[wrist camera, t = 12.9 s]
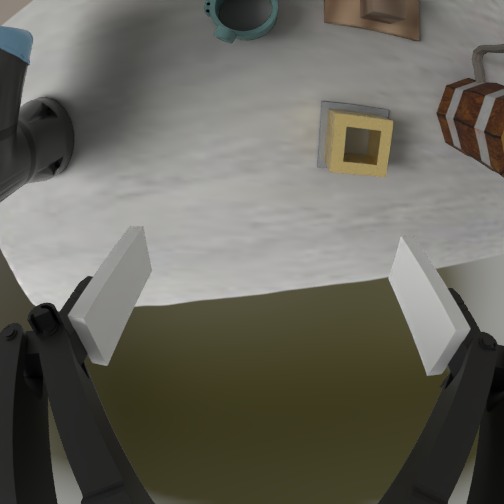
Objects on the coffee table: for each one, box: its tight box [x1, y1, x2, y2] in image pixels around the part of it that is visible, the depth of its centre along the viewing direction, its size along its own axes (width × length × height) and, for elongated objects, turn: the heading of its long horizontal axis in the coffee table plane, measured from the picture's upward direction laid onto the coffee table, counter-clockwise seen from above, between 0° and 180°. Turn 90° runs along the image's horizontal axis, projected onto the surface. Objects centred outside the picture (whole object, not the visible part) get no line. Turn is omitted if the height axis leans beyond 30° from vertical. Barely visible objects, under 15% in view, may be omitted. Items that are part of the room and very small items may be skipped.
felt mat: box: [317, 101, 389, 168], centre depth 41 cm, size 10×10×1 cm
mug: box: [437, 44, 504, 177], centre depth 29 cm, size 20×14×15 cm
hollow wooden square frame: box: [324, 109, 393, 177], centre depth 39 cm, size 8×8×5 cm
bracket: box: [205, 0, 278, 43], centre depth 29 cm, size 9×9×9 cm
